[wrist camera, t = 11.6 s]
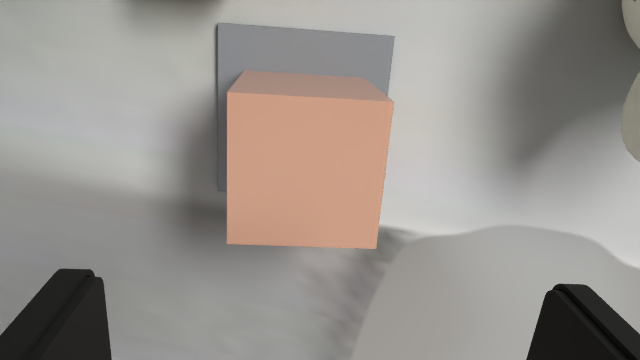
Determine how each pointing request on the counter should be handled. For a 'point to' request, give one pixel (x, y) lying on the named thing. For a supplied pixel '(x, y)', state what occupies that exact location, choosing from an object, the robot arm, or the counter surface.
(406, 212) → the counter surface
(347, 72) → the mat
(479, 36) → the counter surface
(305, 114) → the salmon pink block
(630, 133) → the pitcher
